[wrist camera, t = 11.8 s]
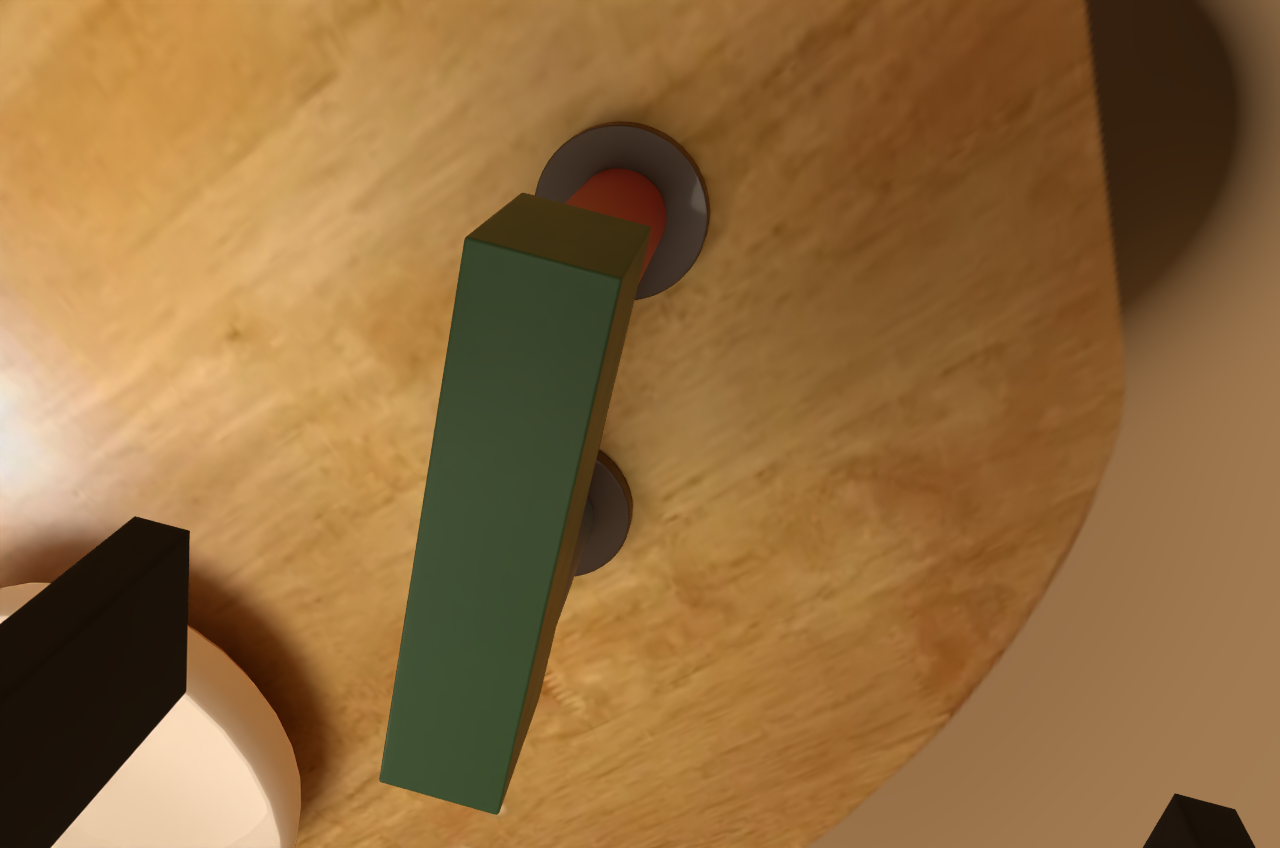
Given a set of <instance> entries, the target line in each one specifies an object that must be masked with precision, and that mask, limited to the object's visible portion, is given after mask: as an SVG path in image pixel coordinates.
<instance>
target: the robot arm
mask: <svg viewBox="0 0 1280 848" xmlns="http://www.w3.org/2000/svg"><path fill="white" fill-rule="evenodd" d="M189 539H190V531H188V530H184V529H181V528H177V527H173V526H169V525H166V524H162V523H158V522H154V521H151V520H147V519H143V518H139V517H136V516H135V517H133V518H132V519H131V520H130V521H128V522H127V523H126V524H125V525H123V526H122V527H121V528H120V529H118V530H117V531H116V532H115V533H113V534H112V535H111V536H110V537H108V538H107V539H106V540H105V541H103V542H102V543H101V544H100V545H98V546H97V547H96V548H95V549H93V550H92V551H91V552H90V553H88V554H87V555H86V556H85V557H83V558H82V559H81V560H80V561H78V562H77V563H76V564H75V565H73V566H72V567H71V568H70V569H68V570H67V571H66V572H64V573H63V574H62V575H61V576H59V577H58V578H57V579H56V580H54V581H53V582H52V583H51V584H49V585H48V586H47V587H46V588H44V589H43V590H42V591H41V592H39V593H38V594H37V595H36V596H34V597H33V598H32V599H31V600H29V601H28V602H27V603H26V604H24V605H23V606H22V607H21V608H19V609H18V610H17V611H16V612H14V613H13V614H12V615H11V616H9V617H8V618H7V619H6V620H4V621H3V622H2V623H1V624H0V848H51V847H52V846H53V845H54V844H55V842H56V841H57V840H58V839H59V838H60V837H61V836H62V834H63V833H64V832H65V831H66V830H67V829H68V827H69V826H70V825H71V824H72V823H73V822H74V821H75V819H76V818H77V817H78V816H79V815H80V814H81V813H82V811H83V810H84V809H85V808H86V807H87V806H88V804H89V803H90V802H91V801H92V800H93V799H94V798H95V796H96V795H97V794H98V793H99V792H100V791H101V789H102V788H103V787H104V786H105V785H106V784H107V783H108V781H109V780H110V779H111V778H112V777H113V776H114V775H115V773H116V772H117V771H118V770H119V769H120V768H121V766H122V765H123V764H124V763H125V762H126V761H127V760H128V758H129V757H130V756H131V755H132V754H133V753H134V752H135V750H136V749H137V748H138V747H139V746H140V745H141V743H142V742H143V741H144V740H145V739H146V738H147V737H148V735H149V734H150V733H151V732H152V731H153V730H154V728H155V727H156V726H157V725H158V724H159V723H160V722H161V720H162V719H163V718H164V717H165V716H166V715H167V714H168V712H169V711H170V710H171V709H172V708H173V707H174V705H175V704H176V703H177V702H178V701H179V700H180V699H181V697H182V696H183V695H184V694H185V693H186V686H187V637H188V588H189ZM1143 848H1255V846H1254V844H1253V842H1252V840H1251V839H1250V836H1249V834H1248V833H1247V831H1246V829H1245V827H1244V825H1243V823H1242V821H1241V819H1240V818H1239V816H1238V814H1237V812H1236V810H1235V809H1232V808H1227V807H1224V806H1220V805H1217V804H1212V803H1208V802H1205V801H1201V800H1198V799H1194V798H1190V797H1186V796H1183V795H1179V794H1174V796H1173V797H1172V799H1171V801H1170V803H1169V805H1168V806H1167V808H1166V809H1165V811H1164V813H1163V815H1162V816H1161V818H1160V819H1159V821H1158V823H1157V825H1156V826H1155V828H1154V830H1153V831H1152V833H1151V835H1150V837H1149V838H1148V840H1147V841H1146V843H1145V845H1144V847H1143Z"/></svg>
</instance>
